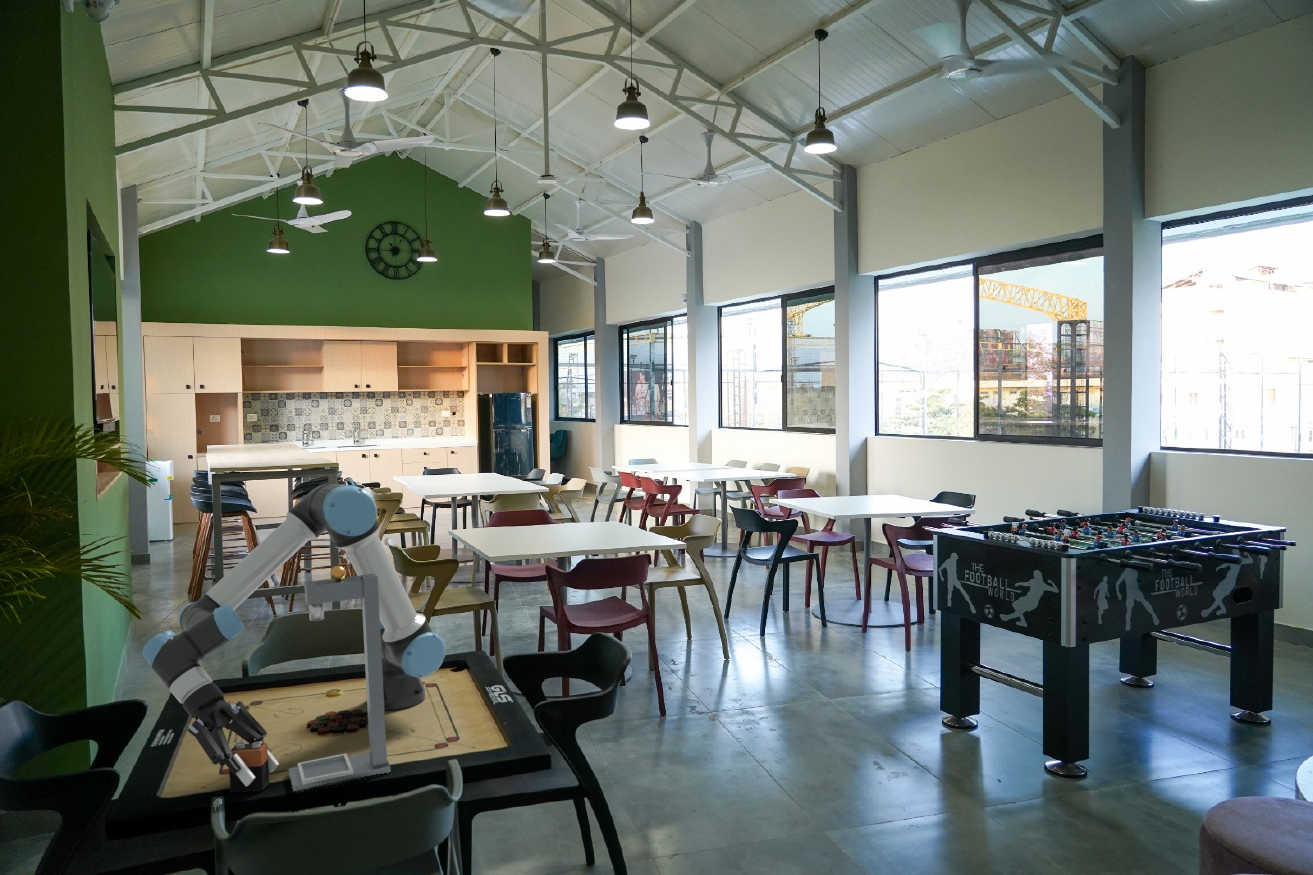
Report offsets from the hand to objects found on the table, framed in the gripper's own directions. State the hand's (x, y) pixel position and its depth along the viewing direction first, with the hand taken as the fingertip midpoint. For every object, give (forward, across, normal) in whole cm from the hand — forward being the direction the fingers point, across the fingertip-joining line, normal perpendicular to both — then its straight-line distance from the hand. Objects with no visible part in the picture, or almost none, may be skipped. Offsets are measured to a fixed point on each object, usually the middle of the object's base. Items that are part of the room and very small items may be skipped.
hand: (262, 774), depth 193 cm
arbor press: (+10, -11, +5) cm, 16 cm away
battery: (0, 0, -5) cm, 5 cm away
